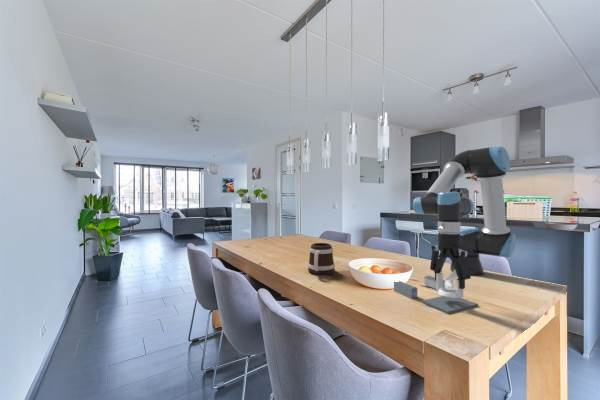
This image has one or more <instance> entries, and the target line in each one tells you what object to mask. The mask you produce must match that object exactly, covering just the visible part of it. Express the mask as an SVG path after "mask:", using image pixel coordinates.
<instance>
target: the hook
mask: <svg viewBox="0 0 600 400" xmlns="http://www.w3.org/2000/svg"><path fill="white" fill-rule="evenodd" d="M456 279H458V277H457V274H456V271H455V270H454V271H451V273H450V274H449V275H448V277H447V278H446V279H445V282H444V286H445V287H442V288H440V289H439V291H438V292H437V294H438V295H440V296H445V297H449V298H457V297H456V288H455V285H454V284H453V282H454V281H456ZM445 291H447V292H445Z"/></svg>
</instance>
